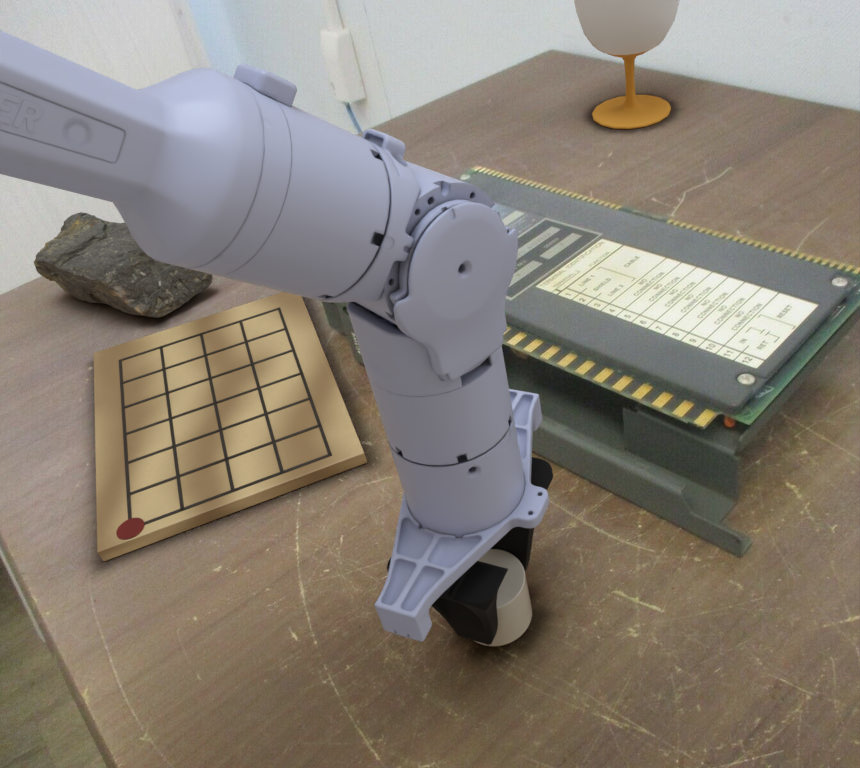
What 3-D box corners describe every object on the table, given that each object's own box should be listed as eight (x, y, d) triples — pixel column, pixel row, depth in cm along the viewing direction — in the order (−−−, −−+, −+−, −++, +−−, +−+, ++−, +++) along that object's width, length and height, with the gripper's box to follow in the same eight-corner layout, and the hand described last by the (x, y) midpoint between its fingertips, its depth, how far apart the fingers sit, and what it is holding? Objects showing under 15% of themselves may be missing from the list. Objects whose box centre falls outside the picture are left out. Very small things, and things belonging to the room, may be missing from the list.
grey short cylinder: (476, 658, 45) (465, 622, 43) (452, 602, 48) (441, 565, 46) (543, 628, 46) (537, 591, 44) (515, 575, 49) (508, 538, 47)
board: (103, 562, 54) (96, 551, 54) (98, 361, 72) (92, 352, 71) (367, 462, 58) (364, 451, 57) (301, 295, 76) (297, 285, 75)
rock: (-4, 289, 74) (47, 208, 80) (46, 335, 80) (91, 257, 85) (159, 286, 70) (202, 200, 75) (201, 335, 75) (238, 252, 81)
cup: (576, 137, 93) (562, -26, 82) (584, 95, 102) (572, -57, 91) (683, 131, 91) (684, -38, 80) (682, 88, 100) (682, -69, 89)
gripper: (461, 570, 31) (509, 746, 40) (587, 335, 41) (603, 518, 49) (303, 527, 33) (381, 701, 42) (457, 316, 43) (494, 493, 52)
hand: (493, 600), depth 46 cm, fingers closed on grey short cylinder, 4 cm apart
